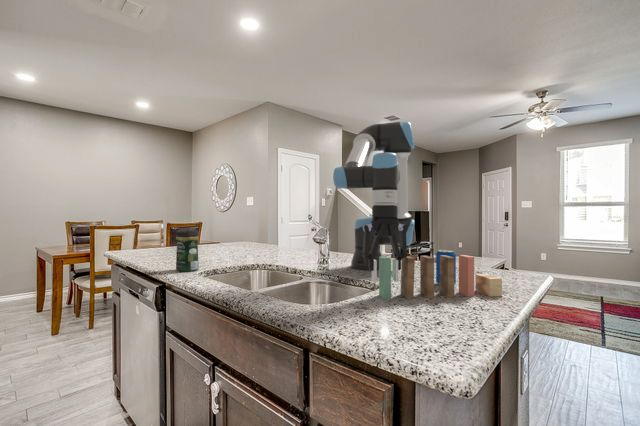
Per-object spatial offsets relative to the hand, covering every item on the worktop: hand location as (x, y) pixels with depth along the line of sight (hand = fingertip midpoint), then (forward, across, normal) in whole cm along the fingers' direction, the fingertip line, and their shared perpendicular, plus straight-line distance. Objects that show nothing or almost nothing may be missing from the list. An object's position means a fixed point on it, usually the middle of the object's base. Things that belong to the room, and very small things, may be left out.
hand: (384, 281), depth 94 cm
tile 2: (+5, +7, 0) cm, 9 cm away
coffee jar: (+5, -72, +53) cm, 90 cm away
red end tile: (+5, +26, 0) cm, 27 cm away
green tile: (+5, 0, 0) cm, 5 cm away
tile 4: (+5, +20, 0) cm, 21 cm away
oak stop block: (+5, +34, 0) cm, 34 cm away
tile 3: (+5, +14, 0) cm, 14 cm away
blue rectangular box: (+5, +27, +13) cm, 30 cm away
